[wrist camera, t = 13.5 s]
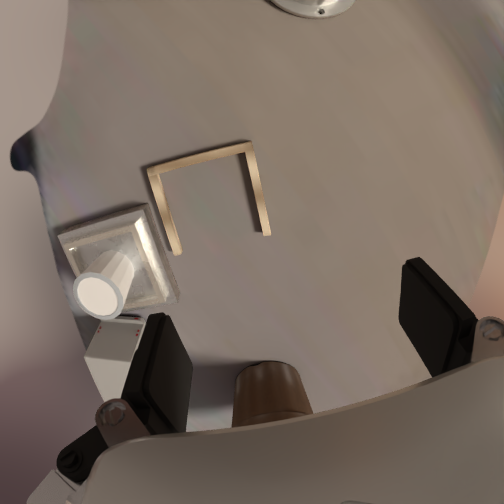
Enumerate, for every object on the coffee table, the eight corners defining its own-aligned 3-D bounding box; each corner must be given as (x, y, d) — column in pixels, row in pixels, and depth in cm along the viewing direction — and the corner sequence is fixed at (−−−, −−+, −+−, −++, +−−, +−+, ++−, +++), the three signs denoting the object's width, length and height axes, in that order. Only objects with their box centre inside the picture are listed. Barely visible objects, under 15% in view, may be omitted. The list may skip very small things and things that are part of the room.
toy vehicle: (123, 381, 53) (111, 421, 44) (99, 310, 45) (77, 352, 36) (165, 385, 54) (157, 427, 45) (149, 313, 46) (134, 358, 37)
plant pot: (325, 356, 52) (347, 431, 37) (294, 408, 59) (306, 473, 44) (235, 345, 49) (236, 428, 35) (218, 400, 56) (216, 471, 42)
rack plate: (65, 228, 39) (53, 239, 35) (148, 203, 38) (140, 212, 35) (101, 307, 45) (93, 321, 42) (180, 292, 44) (176, 307, 41)
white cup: (96, 239, 37) (73, 264, 31) (142, 255, 38) (127, 283, 32) (90, 280, 40) (71, 309, 34) (134, 296, 41) (120, 327, 35)
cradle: (148, 167, 36) (146, 169, 35) (251, 140, 35) (251, 141, 34) (175, 251, 41) (174, 255, 40) (270, 231, 41) (271, 234, 40)
